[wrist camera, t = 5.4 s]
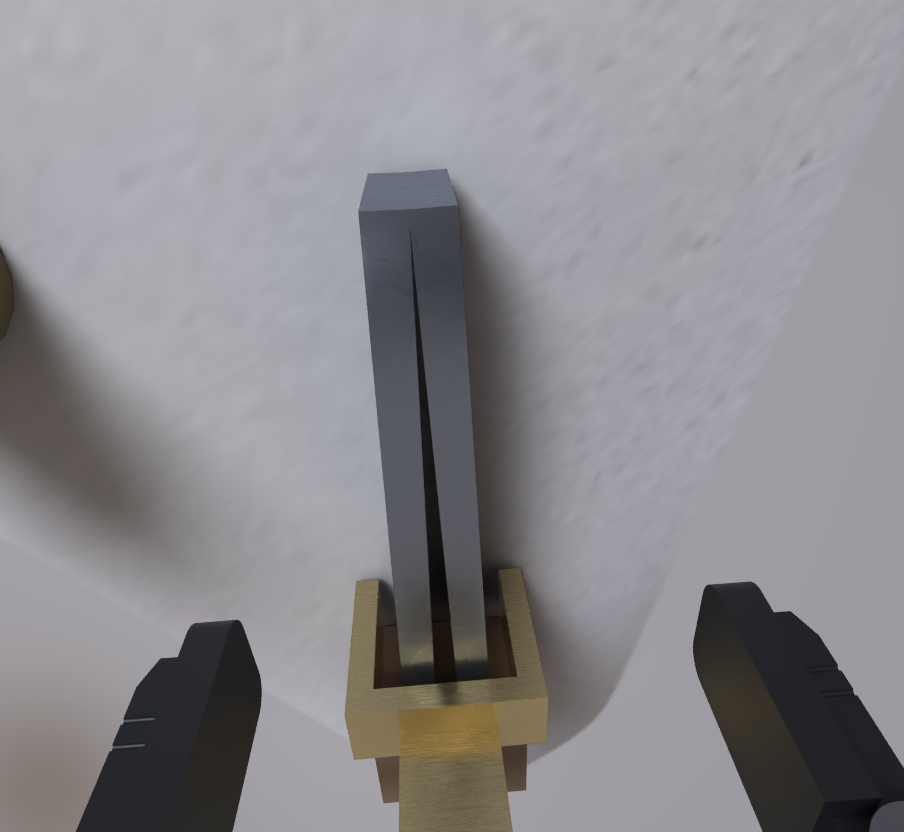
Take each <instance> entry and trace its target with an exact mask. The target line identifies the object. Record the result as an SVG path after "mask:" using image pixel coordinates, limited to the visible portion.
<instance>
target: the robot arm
mask: <svg viewBox="0 0 904 832" xmlns="http://www.w3.org/2000/svg"><path fill="white" fill-rule="evenodd" d="M693 655H694V662H695V667H696V671H697V674H698V678H699V680H700V682H701V685H702V687H703V690H704V692H705V695H706V697H707V699H708V702H709V704H710V707H711V709H712V711H713V714H714V716H715V719H716V721H717V723H718V726H719V728H720V730H721V733H722V735H723V737H724V740H725V742H726V745H727V747H728V750H729V752H730V754H731V757H732V759H733V761H734V764H735V766H736V769H737V771H738V773H739V776H740V778H741V781H742V783H743V786H744V788H745V790H746V793H747V795H748V797H749V800H750V802H751V805H752V807H753V809H754V812H755V814H756V817H757V819H758V821H759V824H760V826H761V829H762V831H763V832H904V768H903V766H902V765H901V763H900V762H899V760H898V759H897V757H896V755H895V754H894V752H893V750H892V749H891V747H890V746H889V745H888V743H887V741H886V740H885V738H884V736H883V735H882V733H881V732H880V730H879V729H878V727H877V726H876V724H875V722H874V721H873V720H872V718H871V716H870V715H869V713H868V711H867V710H866V708H865V707H864V705H863V704H862V702H861V700H860V699H859V697H858V696H855V695H854V693H853V688H852V686H851V685H850V683H849V682H848V680H847V679H846V677H845V675H844V674H843V672H842V671H839V670H838V665H837V663H836V661H835V660H834V658H833V657H832V655H831V654H830V652H829V650H828V649H827V647H826V646H825V644H824V643H823V641H822V639H821V638H820V636H819V635H818V634H817V633H815V632H814V631H813V630H812V629H810V627H808V626H807V625H806V624H805V623H804V622H802V621H801V620H800V619H799V618H798V617H797V616H795V615H794V614H793V613H792V612H791V611H787V612H775V613H774V612H773V610H772V609H771V607H770V605H769V604H768V602H767V600H766V599H765V597H764V595H763V593H762V592H761V590H760V589H759V587H758V586H757V585H756V584H755V583H753V582H738V583H727V584H712V585H707V586H706V587H705V589H704V591H703V596H702V601H701V606H700V611H699V616H698V621H697V626H696V631H695V637H694V642H693ZM261 697H262V688H261V678H260V674H259V671H258V668H257V665H256V662H255V659H254V656H253V654H252V651H251V648H250V645H249V642H248V639H247V636H246V634H245V631H244V628H243V625H242V623H241V622H240V621H239V620H229V621H216V622H204V623H194V624H193V625H192V626H191V627H190V628H189V630H188V632H187V634H186V637H185V639H184V642H183V645H182V647H181V650H180V653H179V655H178V657H174V658H161V659H160V660H159V661H158V663H156V665H155V666H154V667H153V668H152V669H151V670H150V672H149V673H148V674H147V675H146V676H145V678H144V679H143V680H142V681H141V682H140V684H139V685H138V686H137V687H136V690H135V692H134V695H133V697H132V699H131V702H130V704H129V706H128V709H127V711H126V714H125V716H124V723H123V725H121V726H120V728H119V730H118V733H117V735H116V737H115V740H114V742H113V749H112V751H110V752H109V754H108V756H107V759H106V761H105V763H104V766H103V768H102V771H101V773H100V775H99V778H98V780H97V783H96V785H95V787H94V790H93V792H92V795H91V797H90V799H89V802H88V804H87V806H86V809H85V811H84V813H83V816H82V818H81V821H80V823H79V825H78V828H77V830H76V832H232V831H233V827H234V822H235V818H236V814H237V809H238V805H239V801H240V796H241V792H242V788H243V783H244V778H245V775H246V770H247V766H248V761H249V757H250V752H251V748H252V743H253V740H254V735H255V731H256V726H257V722H258V718H259V713H260V707H261Z"/></svg>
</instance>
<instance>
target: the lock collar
mask: <svg viewBox="0 0 904 832" xmlns="http://www.w3.org/2000/svg"><path fill="white" fill-rule="evenodd" d="M499 613H500V619H501V625H502V631H503V637H504V643H505V649H506V655H507V661H508V668H509V674H510V677H508V678H496V679H485V680H473V681H462V682H450V683H439V684H428V685H416V686H405V687H393V688H382V683H383V653H384V623H385V621H384V614H383V608H382V601H381V594H380V587H379V581H378V579H377V580H365V581H356V590H355V602H354V613H353V625H352V636H351V648H350V659H349V671H348V682H347V694H346V705H345V720H346V724H347V729H348V734H349V738H350V743H351V747H352V752H353V757H354V760H356V759H368V758H379V757H390V756H400V760H399V832H513V831H512V824H511V817H510V809H509V801H508V794H507V787H506V779H505V772H504V764H503V757H502V750H501V746H512V745H523V744H534V743H545V742H547V722H548V693H547V688H546V684H545V679H544V674H543V670H542V665H541V661H540V656H539V651H538V647H537V642H536V638H535V633H534V628H533V624H532V619H531V615H530V610H529V605H528V601H527V596H526V592H525V587H524V582H523V578H522V573H521V569H520V568H510V569H499Z"/></svg>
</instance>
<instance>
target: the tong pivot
mask: <svg viewBox="0 0 904 832" xmlns="http://www.w3.org/2000/svg"><path fill="white" fill-rule="evenodd" d="M485 627H486V643H487V658H488V673H489V679H496V678H508V677H510V674H509V668H508V661H507V655H506V649H505V643H504V637H503V631H502V625H501V619H500V617H490V618H485ZM432 632H433V653H434V674H435V684H439V683H450V682H457V676H456V666H455V657H454V647H453V637H452V628H451V621H443V622H432ZM393 687H403V683H402V672H401V661H400V651H399V640H398V629H397V625H395V626H384V653H383V683H382V688H393ZM501 750H502V757H503V764H504V772H505V779H506V787H507V792H510V791H521V790H526V763H527V744H523V745H512V746H501ZM375 760H376V765H377V770H378V775H379V781H380V786H381V792H382V797H383V802H384V803H392V802H399V760H400V756H390V757H379V758H375Z"/></svg>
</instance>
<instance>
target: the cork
mask: <svg viewBox="0 0 904 832" xmlns="http://www.w3.org/2000/svg"><path fill="white" fill-rule="evenodd" d="M13 310H14V303H13V289H12V276H11V274H10V272H9V269H8V267H7V264H6V262H5V260H4V257H3V255H2V252H1V250H0V340H1V339H2V338H3V337H4V336H5V334H6V331H7V328H8V325H9V322H10V319H11V316H12V313H13Z"/></svg>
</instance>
